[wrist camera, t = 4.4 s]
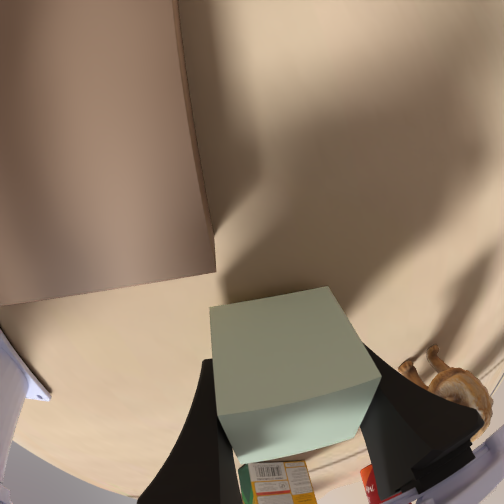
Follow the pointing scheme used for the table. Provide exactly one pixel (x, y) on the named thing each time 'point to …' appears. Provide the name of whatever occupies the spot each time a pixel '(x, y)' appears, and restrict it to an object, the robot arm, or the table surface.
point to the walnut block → (97, 150)
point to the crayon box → (276, 483)
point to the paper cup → (372, 486)
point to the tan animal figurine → (454, 386)
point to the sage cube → (289, 374)
